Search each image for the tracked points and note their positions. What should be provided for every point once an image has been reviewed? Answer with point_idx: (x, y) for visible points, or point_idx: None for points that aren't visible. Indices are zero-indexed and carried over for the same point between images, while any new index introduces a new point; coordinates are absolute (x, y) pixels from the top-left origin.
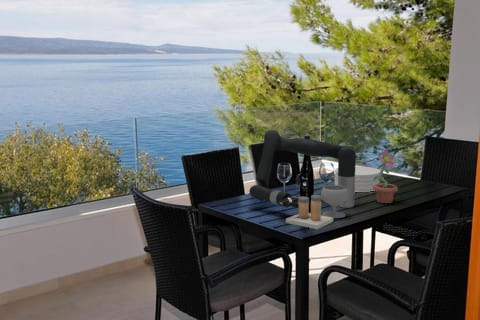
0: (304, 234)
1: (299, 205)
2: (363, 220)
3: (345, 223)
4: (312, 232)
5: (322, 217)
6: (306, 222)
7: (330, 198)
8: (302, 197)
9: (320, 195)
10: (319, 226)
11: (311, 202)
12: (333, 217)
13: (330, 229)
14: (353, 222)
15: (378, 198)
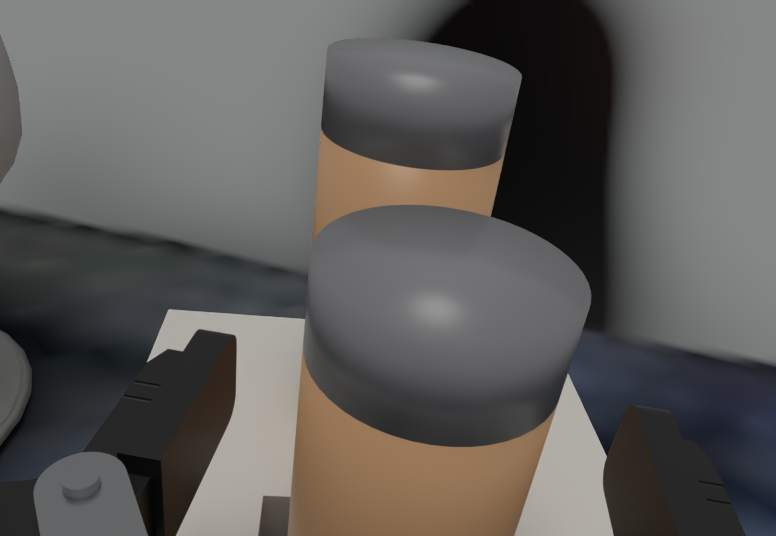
0: (762, 401)
1: (536, 463)
2: (6, 213)
3: (178, 272)
4: (648, 374)
5: None
6: (578, 446)
7: (16, 115)
8: (445, 289)
9: (338, 41)
10: None
11: (488, 200)
12: (23, 367)
13: None
14: (111, 243)
15: None
